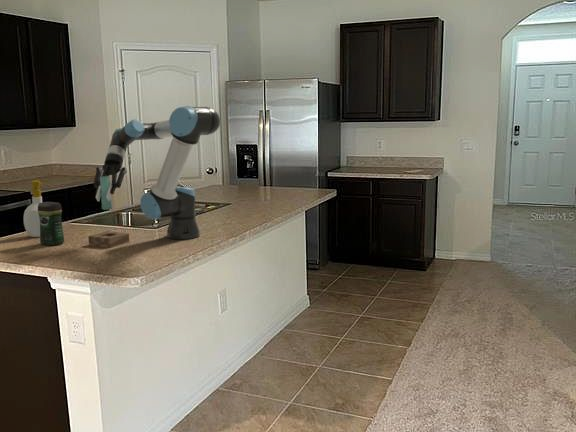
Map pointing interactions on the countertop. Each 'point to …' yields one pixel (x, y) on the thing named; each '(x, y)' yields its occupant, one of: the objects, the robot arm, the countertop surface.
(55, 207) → the coffee jar
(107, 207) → the dowel
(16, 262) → the countertop surface
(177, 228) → the robot arm
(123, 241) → the bore block
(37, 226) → the soap bottle
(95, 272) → the countertop surface
